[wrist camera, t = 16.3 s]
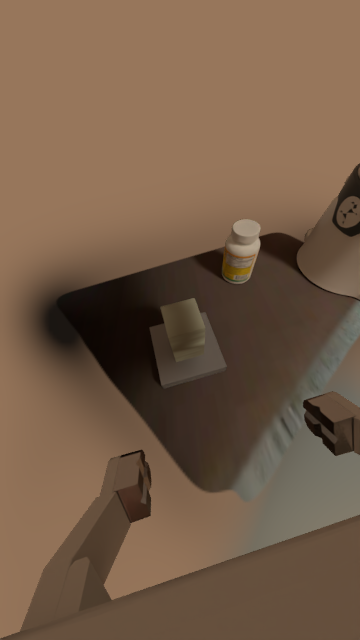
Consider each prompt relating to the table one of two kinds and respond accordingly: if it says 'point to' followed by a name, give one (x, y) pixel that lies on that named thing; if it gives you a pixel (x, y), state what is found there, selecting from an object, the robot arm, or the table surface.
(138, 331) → the table surface
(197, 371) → the gray rectangular slab
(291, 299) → the table surface
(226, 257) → the supplement bottle
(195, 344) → the sage block
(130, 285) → the table surface
